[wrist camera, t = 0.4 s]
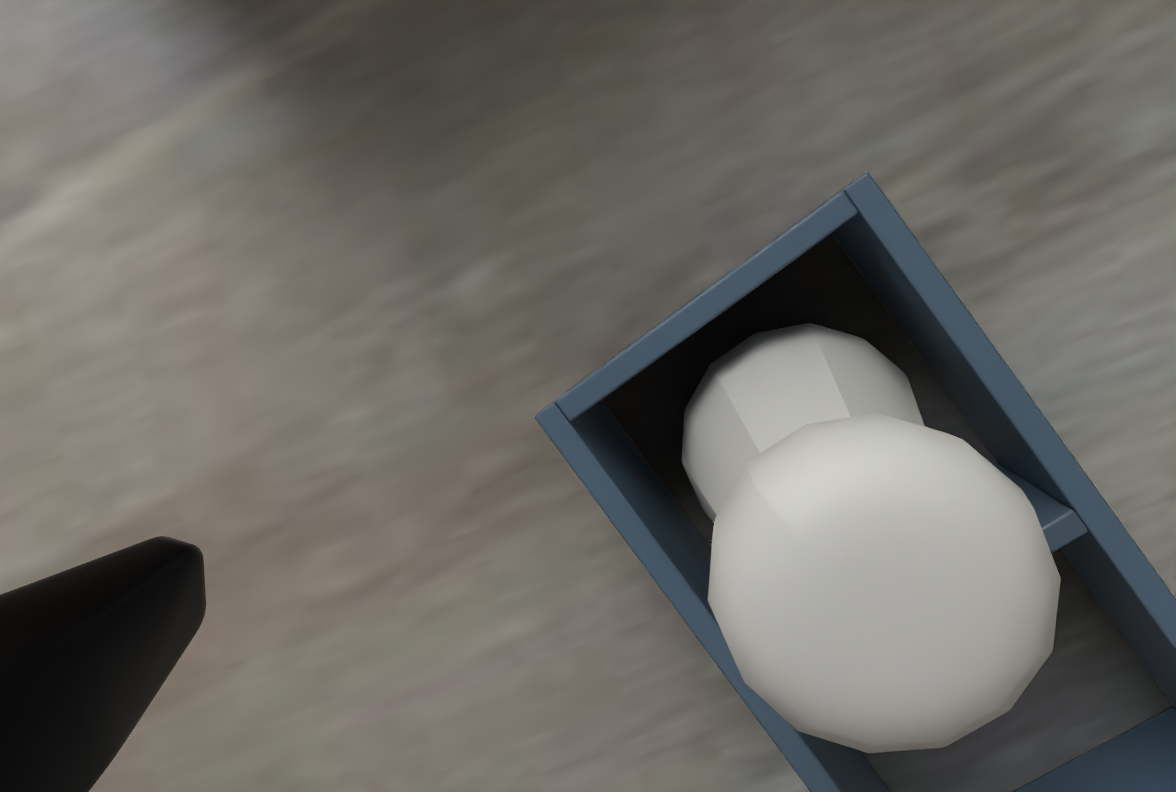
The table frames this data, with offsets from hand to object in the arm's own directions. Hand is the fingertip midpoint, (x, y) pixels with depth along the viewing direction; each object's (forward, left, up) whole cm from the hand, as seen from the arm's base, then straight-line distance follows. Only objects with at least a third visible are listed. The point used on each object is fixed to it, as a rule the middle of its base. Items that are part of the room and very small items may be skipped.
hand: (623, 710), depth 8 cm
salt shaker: (+3, -2, -15) cm, 16 cm away
